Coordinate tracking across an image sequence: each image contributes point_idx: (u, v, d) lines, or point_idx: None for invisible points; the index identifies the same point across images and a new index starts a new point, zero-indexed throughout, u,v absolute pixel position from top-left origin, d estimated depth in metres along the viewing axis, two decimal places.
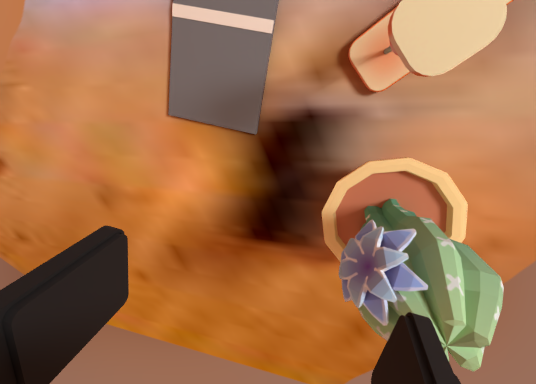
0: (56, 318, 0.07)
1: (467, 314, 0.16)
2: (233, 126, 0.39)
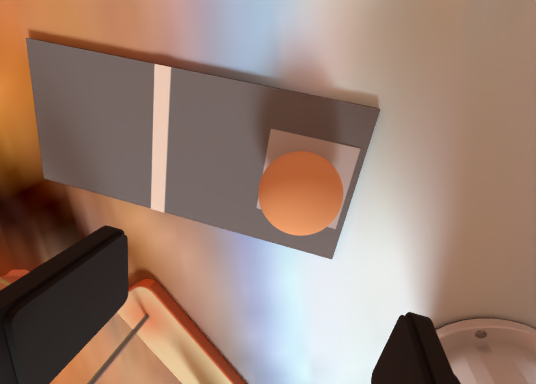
0: (56, 318, 0.07)
1: None
2: (43, 148, 0.28)
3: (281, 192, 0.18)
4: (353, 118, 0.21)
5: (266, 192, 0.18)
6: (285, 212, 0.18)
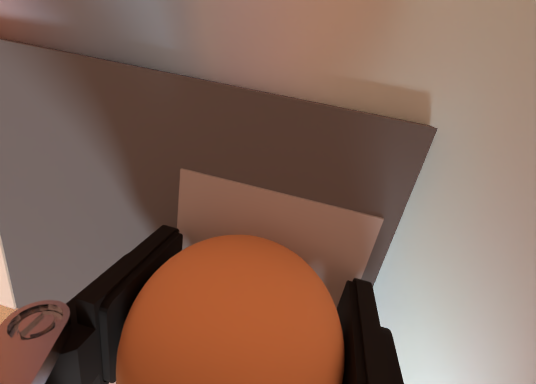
0: None
1: None
2: None
3: None
4: (367, 149, 0.08)
5: None
6: None
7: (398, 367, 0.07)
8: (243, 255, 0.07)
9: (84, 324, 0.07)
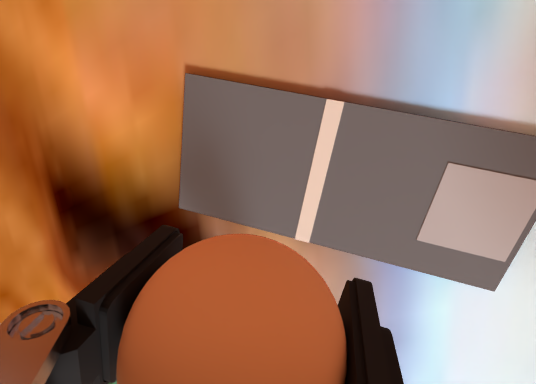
0: None
1: None
2: (183, 179, 0.28)
3: None
4: None
5: None
6: None
7: (398, 367, 0.07)
8: (245, 254, 0.07)
9: (84, 324, 0.07)
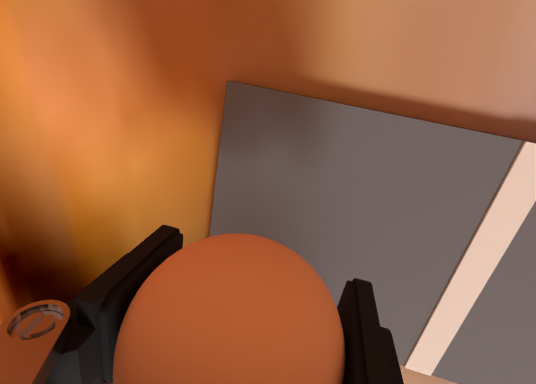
0: None
1: None
2: None
3: None
4: None
5: None
6: None
7: (398, 367, 0.07)
8: (242, 254, 0.07)
9: (84, 324, 0.07)
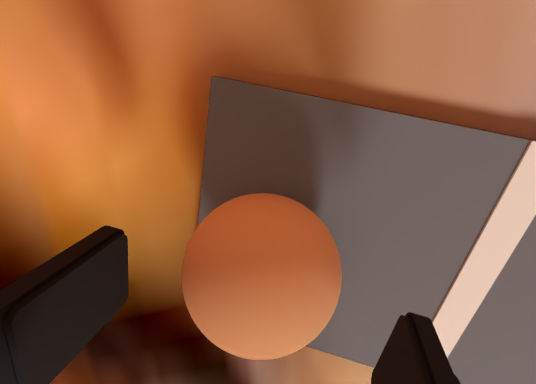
0: (56, 318, 0.07)
1: None
2: None
3: (211, 293, 0.08)
4: None
5: (188, 285, 0.09)
6: (221, 333, 0.09)
7: None
8: (271, 201, 0.10)
9: None
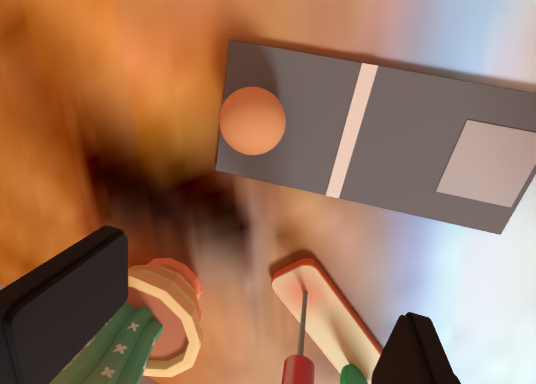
0: (56, 318, 0.07)
1: None
2: (222, 142, 0.30)
3: (233, 113, 0.23)
4: None
5: (223, 116, 0.24)
6: (236, 129, 0.23)
7: None
8: (255, 87, 0.24)
9: None
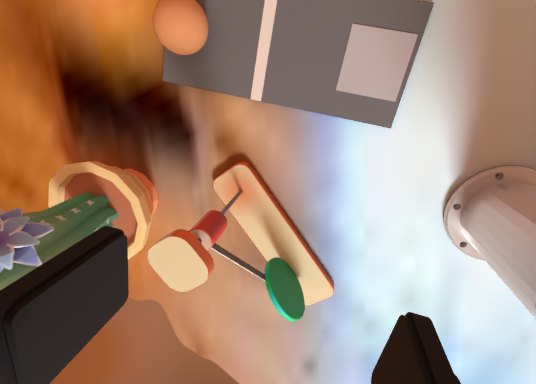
0: (56, 318, 0.07)
1: None
2: (166, 54, 0.37)
3: (159, 10, 0.30)
4: (414, 11, 0.30)
5: (153, 15, 0.30)
6: (161, 23, 0.30)
7: None
8: None
9: None
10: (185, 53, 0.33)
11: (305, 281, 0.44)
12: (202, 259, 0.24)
